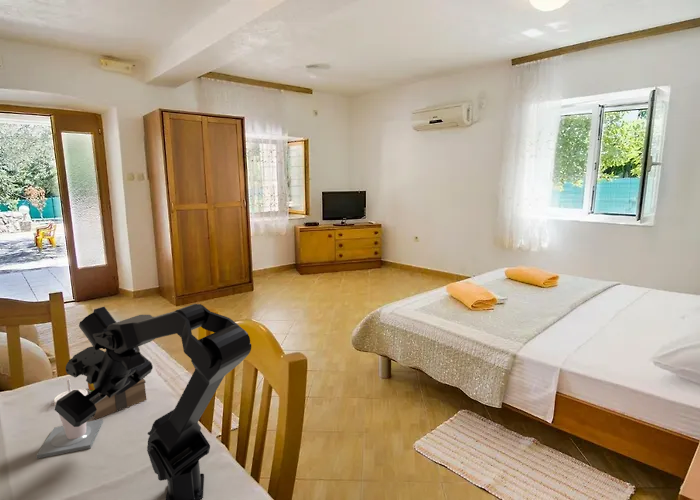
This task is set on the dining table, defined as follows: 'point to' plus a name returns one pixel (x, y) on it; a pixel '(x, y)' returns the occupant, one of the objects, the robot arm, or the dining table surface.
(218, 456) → the dining table surface
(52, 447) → the coaster
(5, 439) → the dining table surface
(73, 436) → the smoothie
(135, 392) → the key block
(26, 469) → the dining table surface
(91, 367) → the robot arm
